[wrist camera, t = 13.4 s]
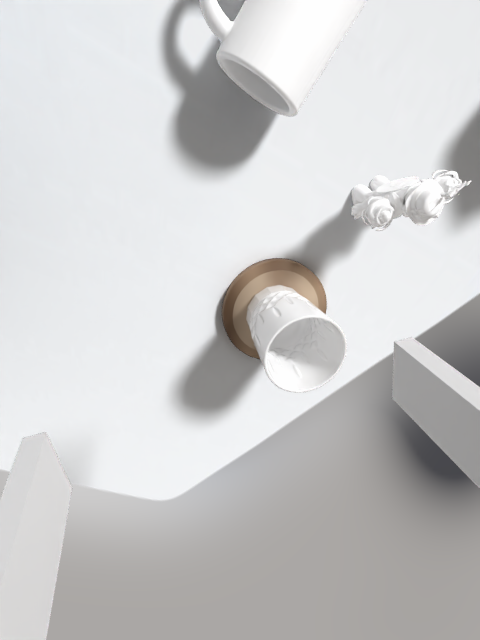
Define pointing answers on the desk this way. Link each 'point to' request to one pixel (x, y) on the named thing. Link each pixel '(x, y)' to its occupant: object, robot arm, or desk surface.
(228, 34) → the mug
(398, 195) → the flower shoulder figurine
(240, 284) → the coaster
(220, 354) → the desk surface
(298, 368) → the white cup
